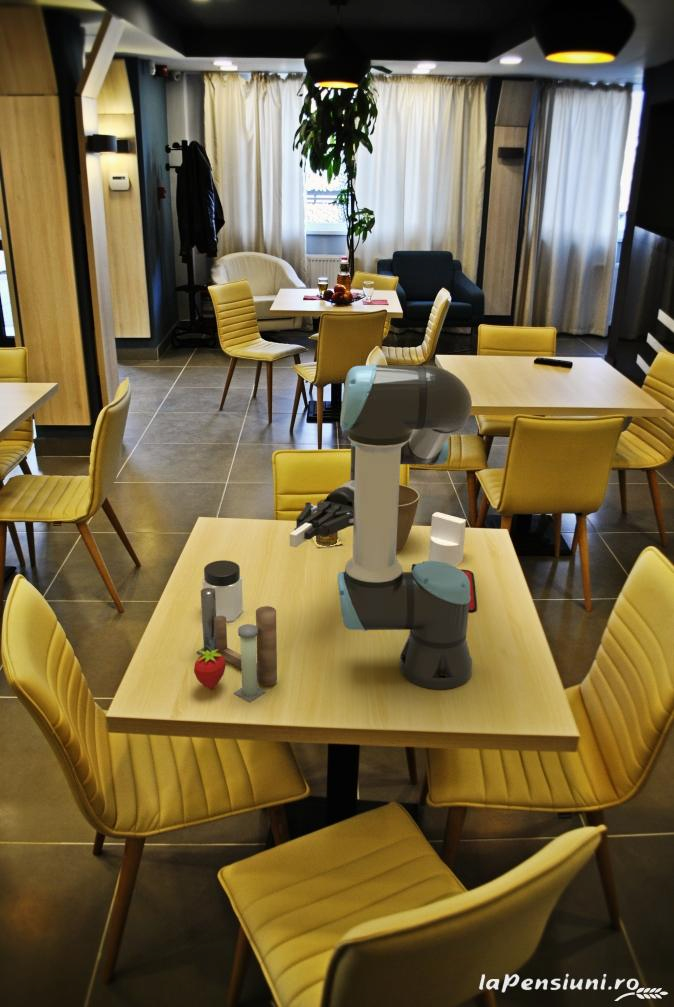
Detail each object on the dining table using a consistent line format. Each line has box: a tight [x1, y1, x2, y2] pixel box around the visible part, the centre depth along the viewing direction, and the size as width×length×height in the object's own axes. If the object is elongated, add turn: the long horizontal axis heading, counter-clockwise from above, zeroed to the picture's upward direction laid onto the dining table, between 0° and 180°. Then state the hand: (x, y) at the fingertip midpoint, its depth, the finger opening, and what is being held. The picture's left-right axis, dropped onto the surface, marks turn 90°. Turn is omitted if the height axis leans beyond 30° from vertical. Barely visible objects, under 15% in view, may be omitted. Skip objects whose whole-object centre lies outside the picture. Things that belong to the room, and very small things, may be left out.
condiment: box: [315, 498, 339, 546], centre depth 233 cm, size 7×8×12 cm
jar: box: [202, 559, 244, 623], centre depth 196 cm, size 9×8×12 cm
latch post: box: [233, 623, 266, 703], centre depth 167 cm, size 4×4×15 cm
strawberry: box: [193, 645, 227, 691], centre depth 169 cm, size 6×8×10 cm
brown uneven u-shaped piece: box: [215, 605, 278, 686], centre depth 173 cm, size 17×4×16 cm, turn 50°
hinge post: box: [195, 588, 216, 656], centre depth 180 cm, size 4×4×15 cm
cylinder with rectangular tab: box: [428, 511, 467, 566], centre depth 224 cm, size 9×9×12 cm
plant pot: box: [396, 483, 420, 554], centre depth 228 cm, size 15×15×16 cm
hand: (292, 540), depth 170 cm, fingers closed
